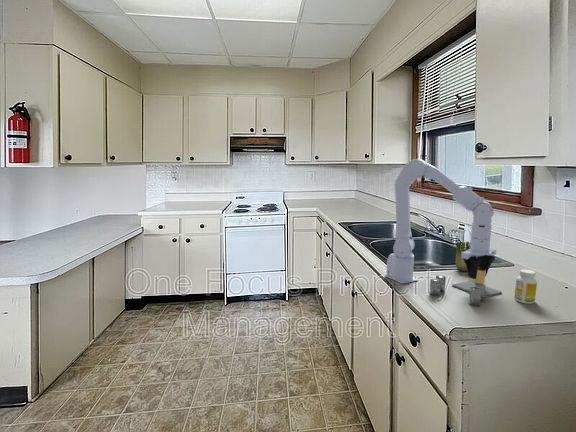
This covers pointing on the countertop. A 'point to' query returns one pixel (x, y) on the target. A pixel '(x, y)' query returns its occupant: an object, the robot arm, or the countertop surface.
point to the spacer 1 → (434, 287)
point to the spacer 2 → (441, 282)
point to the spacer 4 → (482, 287)
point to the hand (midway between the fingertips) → (477, 277)
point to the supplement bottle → (526, 287)
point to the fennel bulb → (459, 261)
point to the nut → (479, 276)
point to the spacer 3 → (475, 296)
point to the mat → (468, 285)
